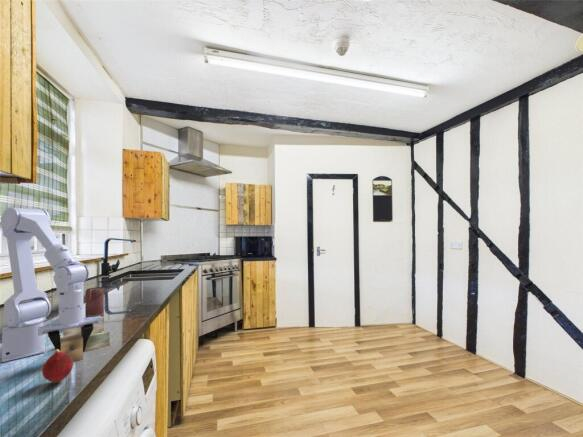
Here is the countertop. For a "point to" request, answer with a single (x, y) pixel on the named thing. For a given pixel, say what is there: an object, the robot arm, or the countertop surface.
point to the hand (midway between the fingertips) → (70, 354)
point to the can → (94, 302)
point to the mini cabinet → (72, 346)
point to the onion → (57, 367)
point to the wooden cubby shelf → (92, 336)
